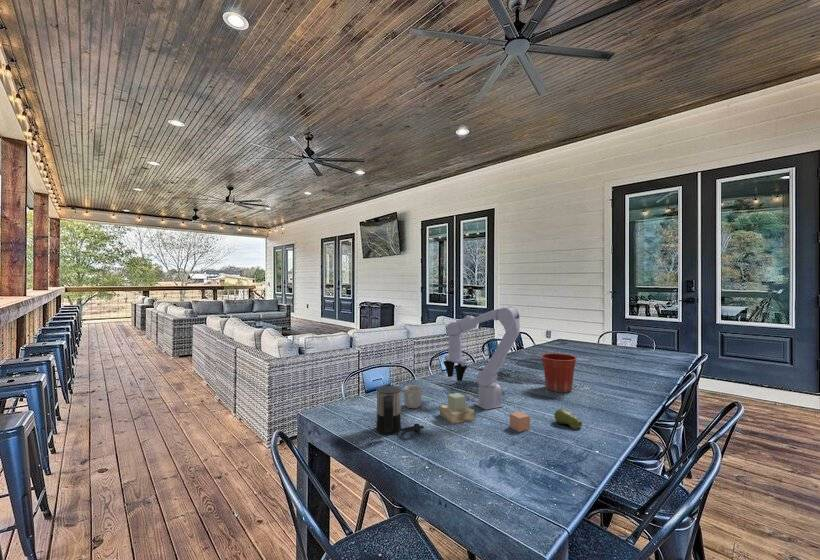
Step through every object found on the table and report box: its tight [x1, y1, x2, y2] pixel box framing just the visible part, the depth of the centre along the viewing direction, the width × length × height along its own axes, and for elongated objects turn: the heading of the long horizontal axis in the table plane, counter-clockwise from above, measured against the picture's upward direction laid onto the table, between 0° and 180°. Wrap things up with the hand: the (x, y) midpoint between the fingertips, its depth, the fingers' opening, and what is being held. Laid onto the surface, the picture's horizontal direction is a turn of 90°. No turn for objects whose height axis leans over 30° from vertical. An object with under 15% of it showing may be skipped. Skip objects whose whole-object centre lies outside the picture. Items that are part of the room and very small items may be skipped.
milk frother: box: [375, 385, 424, 435], centre depth 134 cm, size 14×16×15 cm
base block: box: [439, 404, 476, 425], centre depth 147 cm, size 10×10×4 cm
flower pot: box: [540, 352, 578, 393], centre depth 184 cm, size 16×16×16 cm
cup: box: [403, 384, 423, 409], centre depth 157 cm, size 11×8×8 cm
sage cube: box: [447, 392, 467, 411], centre depth 147 cm, size 5×5×5 cm
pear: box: [553, 408, 583, 430], centre depth 140 cm, size 6×5×10 cm
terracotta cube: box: [509, 411, 531, 433], centre depth 136 cm, size 5×5×5 cm
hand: (454, 378), depth 168 cm, fingers open, 7 cm apart
